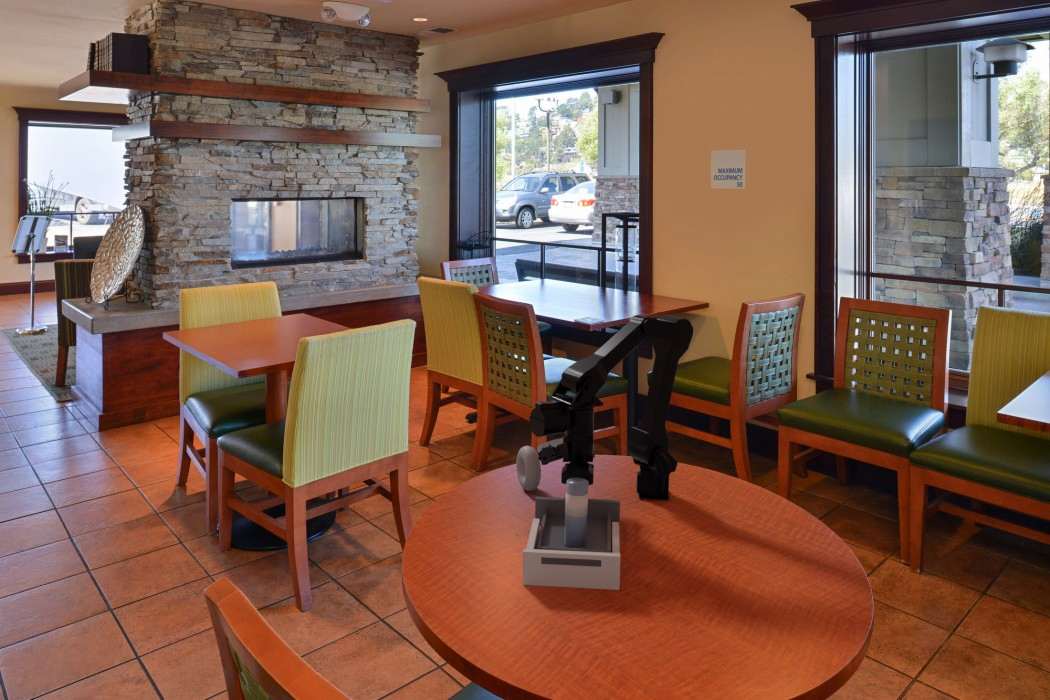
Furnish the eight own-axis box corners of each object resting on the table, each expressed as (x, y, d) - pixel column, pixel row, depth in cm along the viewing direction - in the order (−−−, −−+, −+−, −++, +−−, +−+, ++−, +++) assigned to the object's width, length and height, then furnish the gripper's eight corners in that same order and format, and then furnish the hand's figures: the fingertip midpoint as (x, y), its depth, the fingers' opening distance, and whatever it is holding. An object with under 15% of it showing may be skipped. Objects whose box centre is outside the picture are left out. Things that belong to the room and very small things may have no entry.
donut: (543, 496, 172) (543, 453, 170) (528, 498, 171) (528, 454, 169) (528, 481, 181) (528, 439, 179) (514, 482, 180) (514, 440, 178)
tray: (535, 518, 159) (535, 496, 159) (619, 522, 158) (620, 500, 157) (526, 560, 142) (526, 535, 141) (620, 564, 140) (621, 540, 139)
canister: (586, 539, 148) (589, 478, 145) (585, 549, 144) (588, 486, 141) (564, 537, 148) (567, 477, 146) (562, 547, 144) (565, 484, 142)
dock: (533, 538, 151) (533, 508, 150) (618, 542, 150) (619, 512, 148) (522, 584, 133) (522, 551, 132) (619, 589, 132) (620, 556, 130)
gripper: (543, 414, 169) (543, 483, 172) (535, 442, 151) (535, 518, 154) (595, 416, 168) (594, 485, 171) (593, 443, 150) (592, 521, 153)
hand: (578, 501), depth 162 cm, fingers closed
